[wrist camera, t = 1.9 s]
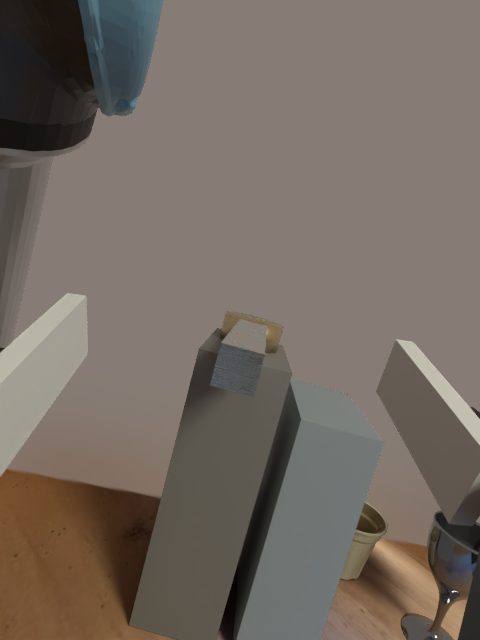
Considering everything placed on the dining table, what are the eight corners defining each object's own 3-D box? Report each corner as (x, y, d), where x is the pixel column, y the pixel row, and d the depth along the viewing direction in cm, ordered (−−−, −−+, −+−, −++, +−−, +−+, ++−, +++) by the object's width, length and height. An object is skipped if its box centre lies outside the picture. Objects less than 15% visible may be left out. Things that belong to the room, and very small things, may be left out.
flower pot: (302, 534, 60) (316, 485, 59) (357, 547, 61) (373, 499, 60) (314, 582, 51) (332, 525, 50) (380, 597, 51) (399, 541, 50)
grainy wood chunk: (181, 377, 25) (191, 334, 25) (223, 332, 48) (229, 309, 48) (282, 405, 25) (294, 362, 24) (276, 346, 48) (282, 324, 47)
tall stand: (128, 625, 38) (199, 348, 35) (165, 529, 53) (217, 328, 50) (213, 650, 38) (292, 373, 35) (226, 546, 53) (282, 345, 50)
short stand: (231, 655, 38) (301, 419, 35) (239, 550, 53) (289, 377, 50) (307, 677, 38) (384, 442, 35) (294, 565, 53) (347, 393, 50)
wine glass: (389, 633, 46) (427, 523, 44) (407, 600, 52) (441, 503, 50) (460, 690, 41) (506, 569, 39) (471, 646, 47) (512, 540, 45)
